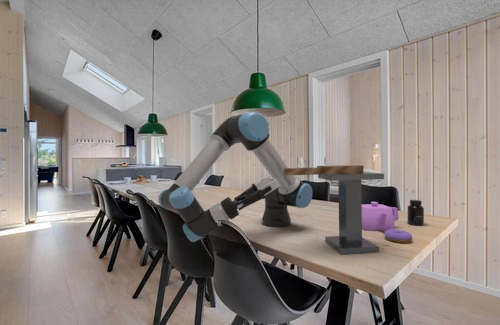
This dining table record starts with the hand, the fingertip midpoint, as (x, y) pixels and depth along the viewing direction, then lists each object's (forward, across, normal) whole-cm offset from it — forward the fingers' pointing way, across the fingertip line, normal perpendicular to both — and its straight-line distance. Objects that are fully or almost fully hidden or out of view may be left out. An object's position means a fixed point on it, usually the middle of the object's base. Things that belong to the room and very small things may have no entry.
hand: (274, 180), depth 92 cm
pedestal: (+12, 0, -37) cm, 39 cm away
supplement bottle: (+53, -24, -61) cm, 85 cm away
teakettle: (+33, -22, -49) cm, 64 cm away
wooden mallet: (+17, 0, -7) cm, 18 cm away
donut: (+32, -4, -49) cm, 58 cm away
